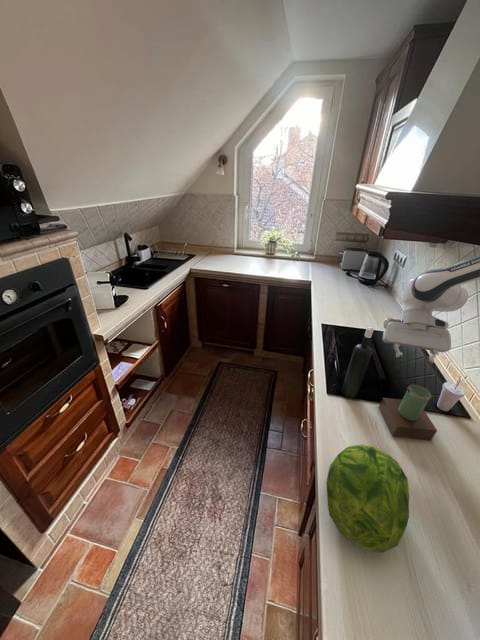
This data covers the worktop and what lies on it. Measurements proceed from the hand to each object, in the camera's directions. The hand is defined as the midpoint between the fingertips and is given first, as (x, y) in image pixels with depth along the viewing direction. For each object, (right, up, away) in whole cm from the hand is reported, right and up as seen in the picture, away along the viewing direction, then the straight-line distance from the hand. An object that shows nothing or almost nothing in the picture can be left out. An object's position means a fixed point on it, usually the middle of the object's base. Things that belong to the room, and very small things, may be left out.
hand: (414, 360), depth 87 cm
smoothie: (+15, -19, +7) cm, 25 cm away
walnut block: (-4, -22, +1) cm, 22 cm away
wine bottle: (-17, -15, +12) cm, 26 cm away
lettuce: (-29, -34, -21) cm, 49 cm away
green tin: (-3, -17, -2) cm, 18 cm away
